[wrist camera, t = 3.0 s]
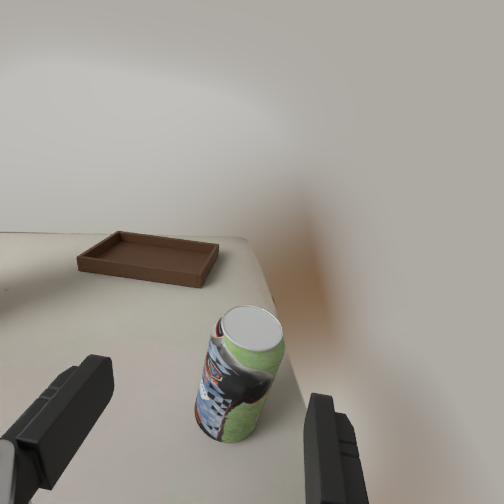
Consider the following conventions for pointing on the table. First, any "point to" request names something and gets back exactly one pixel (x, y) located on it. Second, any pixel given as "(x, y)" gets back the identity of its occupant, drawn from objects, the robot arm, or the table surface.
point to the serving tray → (151, 258)
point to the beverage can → (238, 372)
